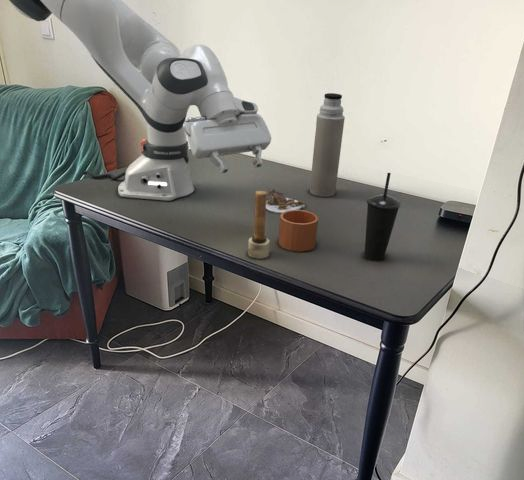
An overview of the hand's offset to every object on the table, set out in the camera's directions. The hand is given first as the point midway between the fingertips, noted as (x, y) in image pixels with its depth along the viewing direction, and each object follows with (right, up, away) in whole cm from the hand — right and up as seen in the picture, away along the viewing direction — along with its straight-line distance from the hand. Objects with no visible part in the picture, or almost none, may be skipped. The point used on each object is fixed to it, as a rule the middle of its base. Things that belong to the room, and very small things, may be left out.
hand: (242, 168), depth 120 cm
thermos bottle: (+23, +7, +41) cm, 48 cm away
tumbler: (+13, -15, +9) cm, 23 cm away
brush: (+4, -19, +4) cm, 20 cm away
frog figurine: (+10, 0, +30) cm, 32 cm away
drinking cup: (+32, -20, +5) cm, 38 cm away
